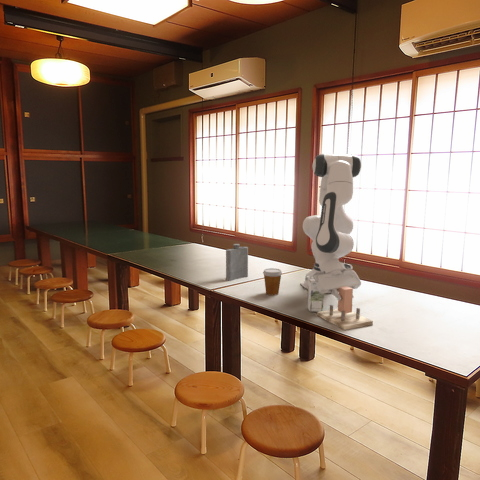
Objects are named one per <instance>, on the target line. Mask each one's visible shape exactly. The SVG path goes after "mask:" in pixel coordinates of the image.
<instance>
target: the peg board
mask: <svg viewBox="0 0 480 480" xmlns="http://www.w3.org/2000/svg"><path fill="white" fill-rule="evenodd" d="M316 313H317V314H316V315H317V316H318V317H320V318H322V319H324V320H325V321H327V322H329V323H331V324H333V325H334V326H336V327H338V328H340V329H342V330H344V331H347V330H351V329H358V328H361V327H367V326H373V323H374V321H373V320H371V319H370V318H367V317H365V316H363V315H361V308H360V307H357V308H356V311H352V312H350V313H345V311H341V312H340V311H338V308H334V305H333V304H330V305H329V309H327V310H323V311H321V312H316Z"/></svg>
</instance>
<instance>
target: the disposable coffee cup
mask: <svg viewBox="0 0 480 480" xmlns="http://www.w3.org/2000/svg"><path fill="white" fill-rule="evenodd" d="M262 274H263V277H264V279H263V280H264V288H265V294H266V295H268V296H276V295H279V294H280V285H281V279H282V274H283V272H282V270H281V269H279V268H274V267H273V268H272V267H271V268H265V269H264V270H263V272H262Z"/></svg>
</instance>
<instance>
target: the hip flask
mask: <svg viewBox="0 0 480 480" xmlns="http://www.w3.org/2000/svg"><path fill="white" fill-rule="evenodd" d="M232 246H233V248H229V249H228V248H227V249H226V250H225V281H226V282H232V281H235V280H239V279H242V278H243V279H244V278H248V276H249V247H248V246H240V243H233V245H232Z"/></svg>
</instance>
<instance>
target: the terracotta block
mask: <svg viewBox="0 0 480 480" xmlns="http://www.w3.org/2000/svg"><path fill="white" fill-rule="evenodd" d="M353 292H354V289H353V288H350V287H347V286H346V287H339V291H338V292H337V293H338V294H339V295H342V297H343V299H342V300H341V301H338V300H337V309H338V311H340V312H341V311H345V313H350V312H353V298H354V297H353V296H354V294H353ZM352 297H353V298H352Z"/></svg>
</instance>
